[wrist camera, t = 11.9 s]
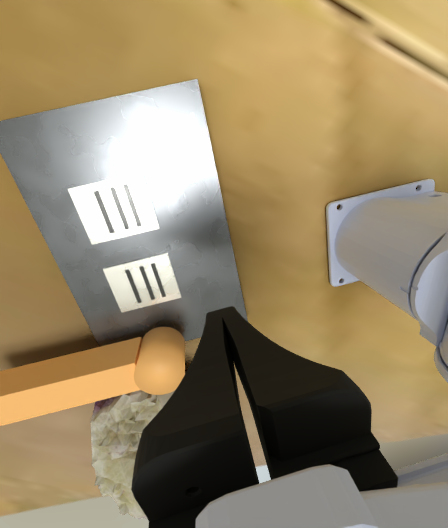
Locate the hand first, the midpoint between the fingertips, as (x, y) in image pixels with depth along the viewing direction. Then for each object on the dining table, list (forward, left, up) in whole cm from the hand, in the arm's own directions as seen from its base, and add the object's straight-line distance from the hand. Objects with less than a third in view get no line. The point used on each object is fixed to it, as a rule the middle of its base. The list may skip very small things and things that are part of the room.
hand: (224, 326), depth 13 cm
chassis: (+4, -2, -10) cm, 12 cm away
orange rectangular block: (+12, +6, -8) cm, 15 cm away
